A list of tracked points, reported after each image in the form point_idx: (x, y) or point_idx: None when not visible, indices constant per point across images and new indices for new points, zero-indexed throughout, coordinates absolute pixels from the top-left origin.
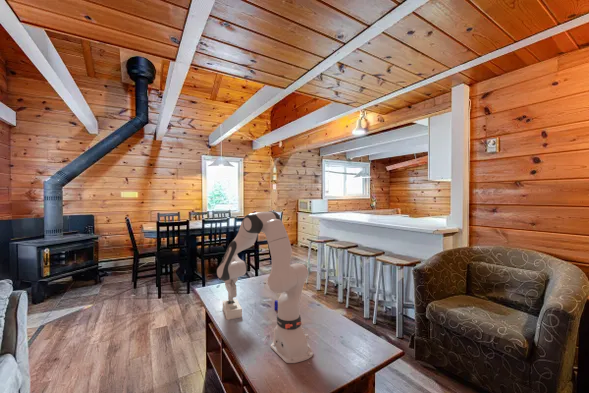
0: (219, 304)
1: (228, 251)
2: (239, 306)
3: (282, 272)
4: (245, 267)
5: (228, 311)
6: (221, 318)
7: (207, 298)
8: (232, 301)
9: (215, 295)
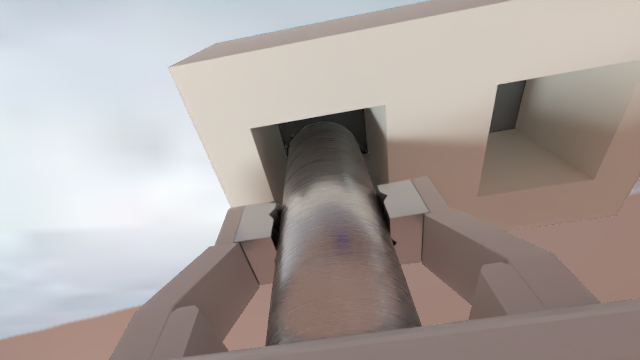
0: (169, 229)
1: None
2: (599, 12)
3: None
4: None
5: (624, 197)
6: None
7: (52, 310)
8: (359, 160)
9: None
